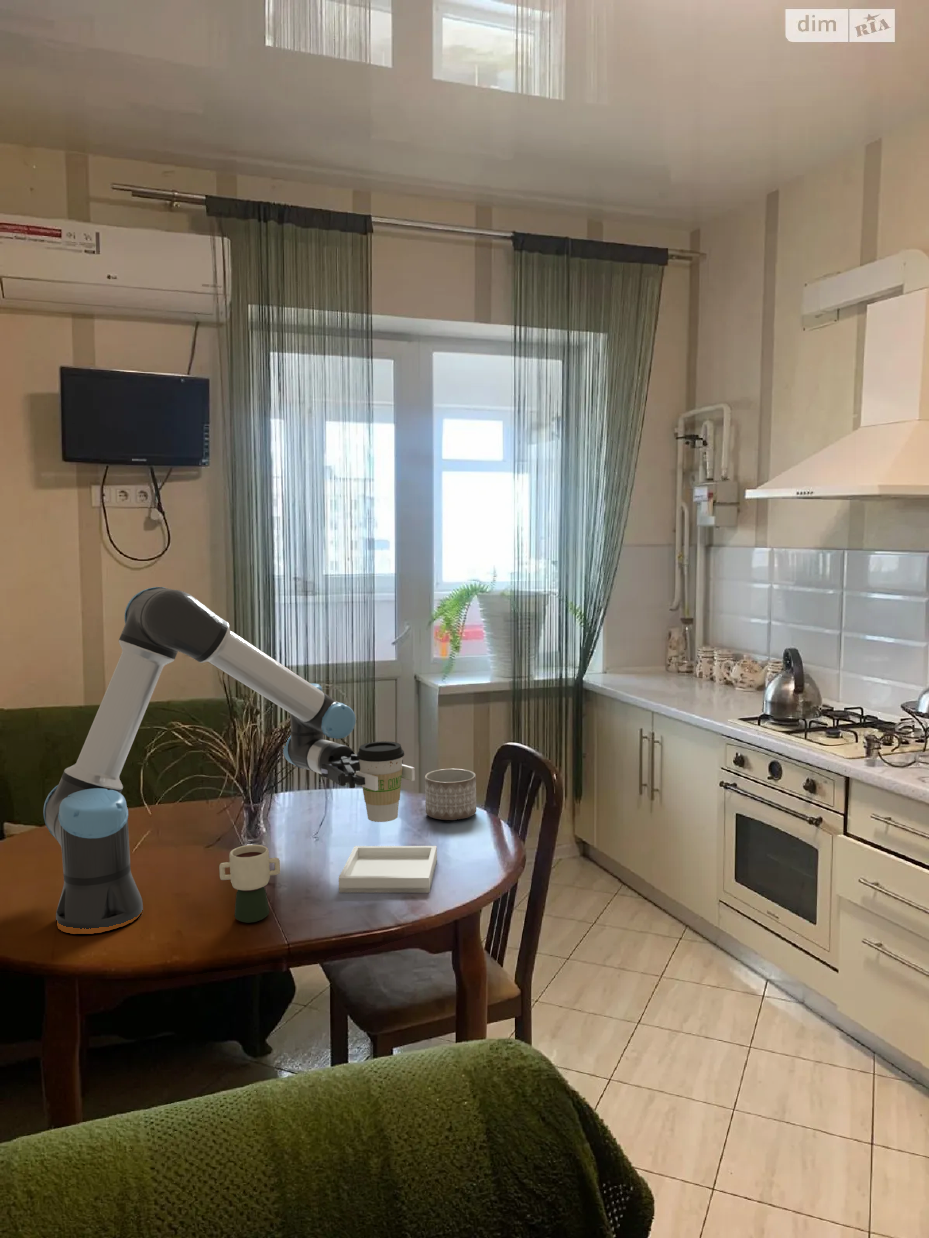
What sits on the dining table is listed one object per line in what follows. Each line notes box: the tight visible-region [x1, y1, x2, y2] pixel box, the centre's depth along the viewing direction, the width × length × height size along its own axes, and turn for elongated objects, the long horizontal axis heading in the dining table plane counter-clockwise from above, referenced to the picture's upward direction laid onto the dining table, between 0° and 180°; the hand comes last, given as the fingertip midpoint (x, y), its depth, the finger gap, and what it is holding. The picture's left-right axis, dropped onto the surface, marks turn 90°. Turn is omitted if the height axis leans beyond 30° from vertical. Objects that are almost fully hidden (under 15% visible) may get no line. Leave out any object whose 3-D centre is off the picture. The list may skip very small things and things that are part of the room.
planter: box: [424, 768, 477, 821], centre depth 224 cm, size 13×13×10 cm
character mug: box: [218, 844, 281, 924], centre depth 167 cm, size 11×7×13 cm, turn 102°
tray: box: [338, 845, 438, 894], centre depth 187 cm, size 18×18×3 cm
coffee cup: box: [356, 740, 405, 823], centre depth 185 cm, size 10×10×15 cm
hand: (395, 778), depth 182 cm, fingers closed on coffee cup, 9 cm apart
